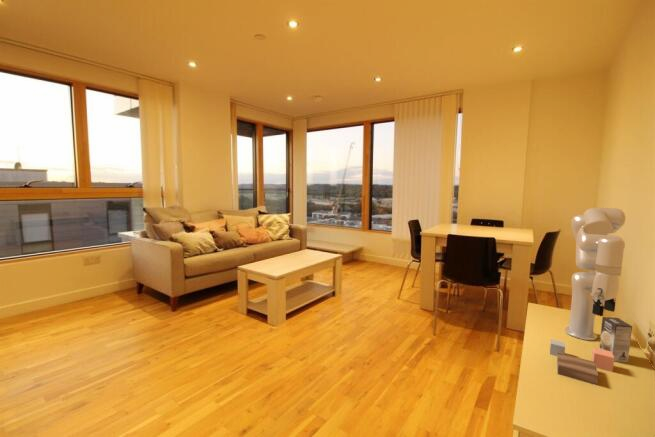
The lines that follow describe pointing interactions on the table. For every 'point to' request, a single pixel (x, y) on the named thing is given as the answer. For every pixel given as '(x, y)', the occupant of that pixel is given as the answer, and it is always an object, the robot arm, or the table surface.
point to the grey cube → (557, 347)
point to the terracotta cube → (603, 359)
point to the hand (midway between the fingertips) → (603, 312)
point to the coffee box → (616, 338)
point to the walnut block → (577, 368)
